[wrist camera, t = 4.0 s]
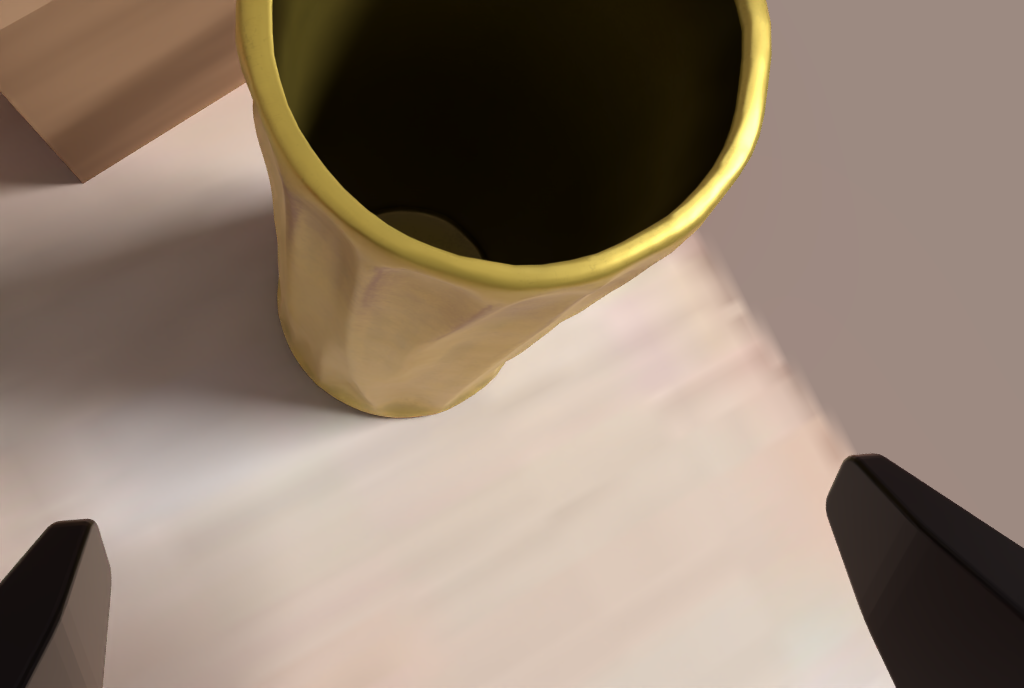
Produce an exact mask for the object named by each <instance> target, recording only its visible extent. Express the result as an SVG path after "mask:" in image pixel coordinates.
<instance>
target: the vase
mask: <svg viewBox="0 0 1024 688" xmlns="http://www.w3.org/2000/svg"><path fill="white" fill-rule="evenodd" d="M235 43H236V49H237V53H238V57H239V62H240V66H241V70H242V73H243V75H244V78H245V80H246V83H247V85H248V88H249V91H250V93H251V96H252V99H253V116H254V123H255V129H256V133H257V137H258V141H259V145H260V148H261V151H262V154H263V157H264V161H265V164H266V168H267V171H268V175H269V180H270V185H271V191H272V198H273V212H274V221H275V227H276V234H277V242H278V269H279V280H278V291H277V304H278V315H279V318H280V322H281V326H282V329H283V332H284V336H285V338H286V340H287V343H288V346H289V348H290V349H291V351H292V353H293V355H294V357H295V358H296V360H297V361H298V363H299V364H300V366H301V367H302V369H303V370H304V371H305V372H306V373H307V375H308V376H309V377H310V378H311V379H312V380H313V381H314V382H315V383H316V385H318V386H319V387H321V388H322V389H323V390H324V391H325V392H327V393H328V394H330V395H331V396H333V397H334V398H336V399H337V400H339V401H341V402H343V403H345V404H347V405H349V406H351V407H353V408H356V409H358V410H360V411H363V412H367V413H370V414H374V415H379V416H385V417H393V418H410V417H419V416H427V415H433V414H437V413H440V412H443V411H446V410H448V409H450V408H452V407H454V406H456V405H458V404H460V403H461V402H463V401H464V400H466V399H468V398H469V397H471V396H472V395H474V394H475V393H477V392H478V391H479V390H481V389H482V388H484V387H485V386H486V385H487V384H488V383H489V382H490V381H491V380H492V379H493V378H494V377H495V376H496V375H497V374H498V372H499V370H500V369H501V368H502V366H503V365H504V364H505V362H506V361H508V360H510V359H512V358H513V357H515V356H517V355H518V354H520V353H522V352H523V351H524V350H526V349H527V348H528V347H530V346H531V345H532V344H533V343H535V342H536V341H538V340H539V339H540V338H542V337H543V336H544V335H546V334H547V333H548V332H550V331H551V330H552V329H553V328H554V327H556V326H557V325H558V324H559V323H561V322H562V321H564V320H566V319H568V318H570V317H572V316H574V315H576V314H578V313H579V312H581V311H583V310H584V309H586V308H587V307H589V306H590V305H592V304H593V303H595V302H596V301H598V300H599V299H601V298H602V297H604V296H605V295H607V294H608V293H610V292H611V291H613V290H615V289H617V288H619V287H620V286H622V285H624V284H625V283H627V282H628V281H630V280H631V279H633V278H634V277H636V276H637V275H639V274H640V273H641V272H643V271H644V270H646V269H647V268H649V267H650V266H652V265H653V264H655V263H656V262H657V261H659V260H661V259H662V258H664V257H666V256H667V255H669V254H670V253H672V252H673V251H674V250H675V249H676V248H677V247H678V246H680V245H681V244H682V243H683V242H684V241H685V240H686V239H687V238H688V237H690V236H691V235H692V234H693V233H694V232H695V231H696V230H697V229H698V228H699V227H700V226H701V225H702V224H703V222H704V221H705V220H706V218H707V217H708V216H709V215H710V213H711V212H712V210H713V209H714V208H715V207H716V205H717V204H718V203H719V202H720V200H721V199H722V198H723V197H724V195H725V194H726V193H727V191H728V190H729V189H730V187H731V186H732V185H733V183H734V182H735V181H736V179H737V178H738V177H739V175H740V174H741V172H742V170H743V169H744V167H745V165H746V164H747V162H748V161H749V159H750V157H751V156H752V153H753V151H754V148H755V146H756V143H757V141H758V138H759V135H760V130H761V127H762V122H763V118H764V112H765V104H766V96H767V89H768V80H769V72H770V63H771V22H770V17H769V12H768V8H767V3H766V0H236V26H235Z"/></svg>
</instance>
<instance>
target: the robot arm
mask: <svg viewBox="0 0 1024 688" xmlns="http://www.w3.org/2000/svg"><path fill="white" fill-rule="evenodd" d="M826 513H827V517H828V520H829V523H830V526H831V529H832V531H833V534H834V537H835V540H836V543H837V546H838V548H839V551H840V554H841V557H842V560H843V562H844V565H845V568H846V571H847V574H848V577H849V579H850V582H851V585H852V588H853V591H854V593H855V596H856V599H857V602H858V605H859V607H860V610H861V612H862V615H863V617H864V620H865V622H866V625H867V627H868V629H869V631H870V634H871V636H872V638H873V640H874V643H875V645H876V647H877V649H878V651H879V653H880V655H881V657H882V659H883V661H884V664H885V666H886V668H887V670H888V672H889V674H890V676H891V678H892V680H893V682H894V685H895V687H896V688H1024V548H1022V547H1021V546H1019V545H1018V544H1016V543H1015V542H1013V541H1012V540H1010V539H1009V538H1007V537H1006V536H1004V535H1003V534H1001V533H1000V532H998V531H997V530H995V529H994V528H992V527H991V526H989V525H988V524H986V523H984V522H983V521H981V520H980V519H978V518H977V517H975V516H974V515H972V514H971V513H969V512H968V511H966V510H965V509H963V508H962V507H960V506H959V505H957V504H955V503H954V502H953V501H951V500H950V499H948V498H946V497H945V496H943V495H942V494H940V493H939V492H937V491H936V490H934V489H933V488H931V487H930V486H928V485H927V484H925V483H924V482H922V481H920V480H919V479H918V478H916V477H915V476H913V475H912V474H910V473H908V472H907V471H905V470H904V469H902V468H901V467H899V466H898V465H896V464H895V463H893V462H892V461H890V460H889V459H887V458H886V457H884V456H882V455H880V454H873V453H872V454H860V455H851V456H848V457H847V458H846V459H845V460H844V461H843V463H842V465H841V467H840V469H839V471H838V474H837V476H836V478H835V480H834V482H833V485H832V487H831V489H830V491H829V493H828V496H827V499H826ZM110 595H111V570H110V564H109V561H108V558H107V554H106V551H105V548H104V544H103V541H102V538H101V534H100V531H99V528H98V525H97V524H96V523H95V521H94V520H92V519H78V520H66V521H58V522H55V523H53V524H51V525H50V526H49V527H48V528H47V529H46V530H45V531H44V532H43V533H42V535H41V536H40V537H39V538H38V539H37V540H36V542H35V543H34V544H33V545H32V546H31V547H30V549H29V550H28V551H27V552H26V553H25V555H24V556H23V557H22V558H21V559H20V560H19V562H18V563H17V564H16V565H15V566H14V567H13V569H12V570H11V571H10V572H9V573H8V574H7V576H6V577H5V578H4V579H3V580H2V581H1V583H0V688H102V686H103V675H104V664H105V652H106V641H107V629H108V618H109V607H110Z"/></svg>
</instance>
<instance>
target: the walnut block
mask: <svg viewBox="0 0 1024 688" xmlns="http://www.w3.org/2000/svg"><path fill="white" fill-rule="evenodd" d="M235 26H236V0H0V92H1V93H2V94H3V95H4V96H5V97H6V98H7V100H8V101H9V102H10V103H11V104H12V105H13V106H14V107H15V108H16V110H17V111H18V112H19V113H20V114H21V115H22V116H23V117H24V118H25V120H26V121H27V122H28V123H29V124H30V125H31V126H32V127H33V129H34V130H35V131H36V132H37V133H38V134H39V135H40V136H41V137H42V139H43V140H44V141H45V142H46V143H47V144H48V145H49V146H50V147H51V149H52V150H53V151H54V152H55V153H56V154H57V155H58V156H59V157H60V159H61V160H62V161H63V162H64V163H65V164H66V165H67V166H68V167H69V169H70V170H71V171H72V172H73V173H74V174H75V175H76V176H77V177H78V179H79V180H80V181H81V182H82V183H85V182H86V181H88V180H90V179H91V178H93V177H94V176H96V175H98V174H99V173H101V172H102V171H104V170H106V169H107V168H109V167H111V166H112V165H114V164H115V163H117V162H119V161H120V160H122V159H123V158H125V157H127V156H128V155H130V154H131V153H133V152H135V151H136V150H138V149H139V148H141V147H143V146H144V145H146V144H148V143H149V142H151V141H152V140H154V139H156V138H157V137H159V136H160V135H162V134H164V133H165V132H167V131H168V130H170V129H172V128H173V127H175V126H176V125H178V124H180V123H181V122H183V121H185V120H186V119H188V118H189V117H191V116H193V115H194V114H196V113H197V112H199V111H201V110H202V109H204V108H205V107H207V106H209V105H210V104H212V103H213V102H215V101H217V100H218V99H220V98H222V97H223V96H225V95H226V94H228V93H230V92H231V91H233V90H234V89H236V88H238V87H239V86H241V85H242V84H244V83H246V80H245V78H244V75H243V73H242V70H241V66H240V62H239V57H238V53H237V49H236V43H235Z"/></svg>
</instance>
